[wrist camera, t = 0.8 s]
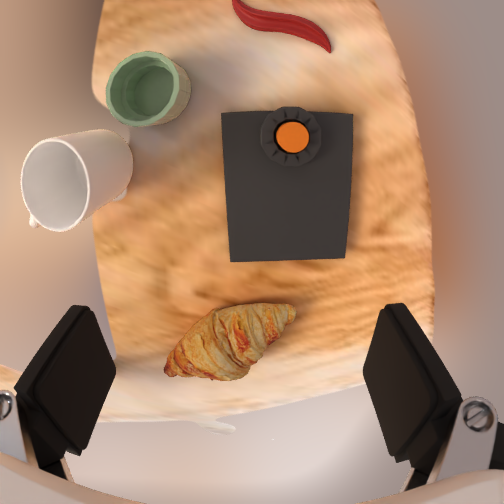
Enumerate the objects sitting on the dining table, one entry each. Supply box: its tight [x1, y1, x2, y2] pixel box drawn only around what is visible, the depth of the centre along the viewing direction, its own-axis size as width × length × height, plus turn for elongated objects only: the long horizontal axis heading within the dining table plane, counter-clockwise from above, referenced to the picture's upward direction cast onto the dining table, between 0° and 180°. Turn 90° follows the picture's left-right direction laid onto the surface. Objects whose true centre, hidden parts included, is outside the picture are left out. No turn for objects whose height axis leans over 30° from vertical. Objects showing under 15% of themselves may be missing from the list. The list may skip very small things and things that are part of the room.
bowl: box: [106, 51, 191, 127], centre depth 23 cm, size 7×7×6 cm
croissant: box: [164, 303, 297, 381], centre depth 37 cm, size 21×10×8 cm, turn 124°
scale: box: [221, 107, 353, 262], centre depth 29 cm, size 16×13×3 cm
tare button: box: [276, 122, 309, 153], centre depth 25 cm, size 3×3×2 cm
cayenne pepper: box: [232, 0, 331, 53], centre depth 22 cm, size 12×5×2 cm, turn 51°
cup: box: [21, 129, 133, 232], centre depth 25 cm, size 8×12×10 cm
